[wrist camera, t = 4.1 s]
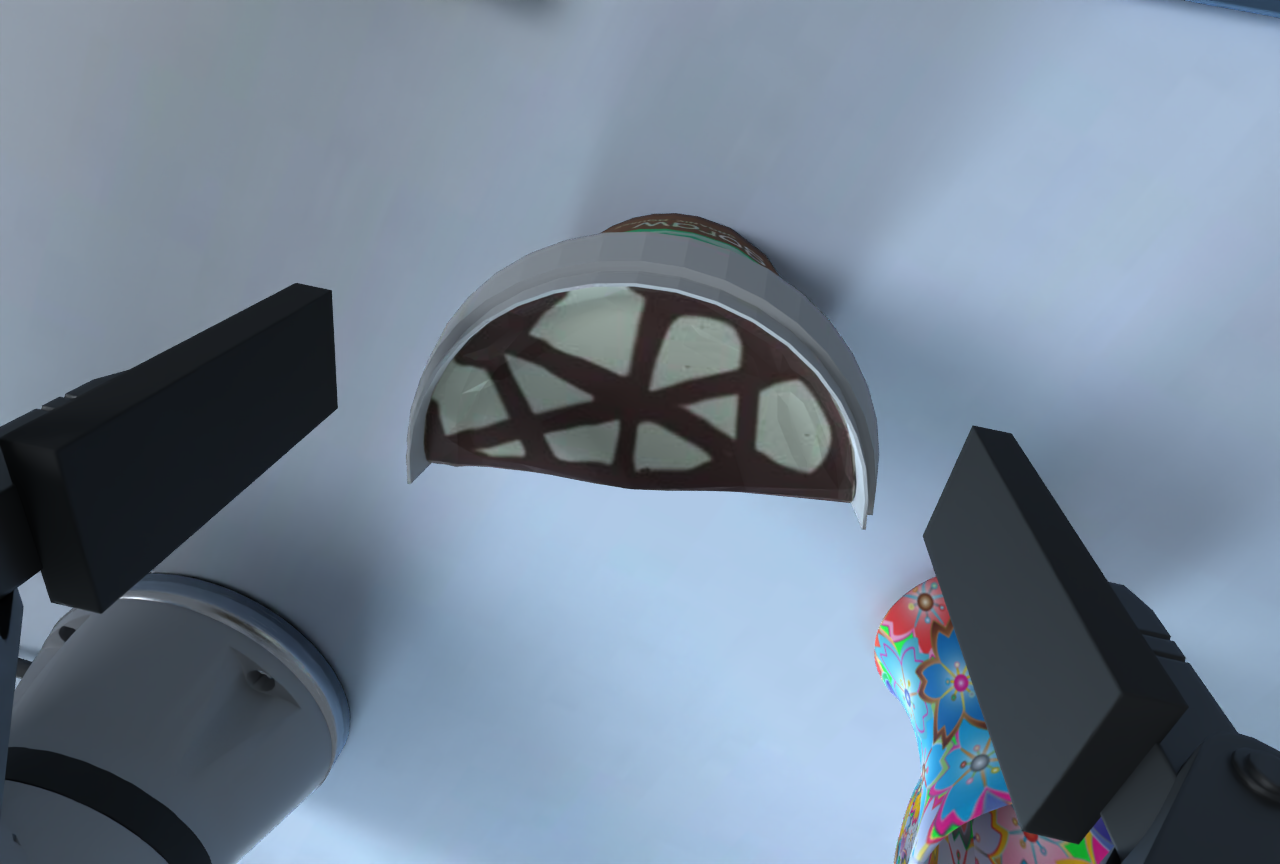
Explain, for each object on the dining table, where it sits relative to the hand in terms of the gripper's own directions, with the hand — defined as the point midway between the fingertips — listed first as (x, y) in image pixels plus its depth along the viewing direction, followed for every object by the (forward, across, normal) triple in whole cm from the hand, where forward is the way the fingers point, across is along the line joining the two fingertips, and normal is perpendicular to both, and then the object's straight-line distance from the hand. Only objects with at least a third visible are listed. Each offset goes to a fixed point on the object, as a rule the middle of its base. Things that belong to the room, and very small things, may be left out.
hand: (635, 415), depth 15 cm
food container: (+12, 0, 0) cm, 12 cm away
